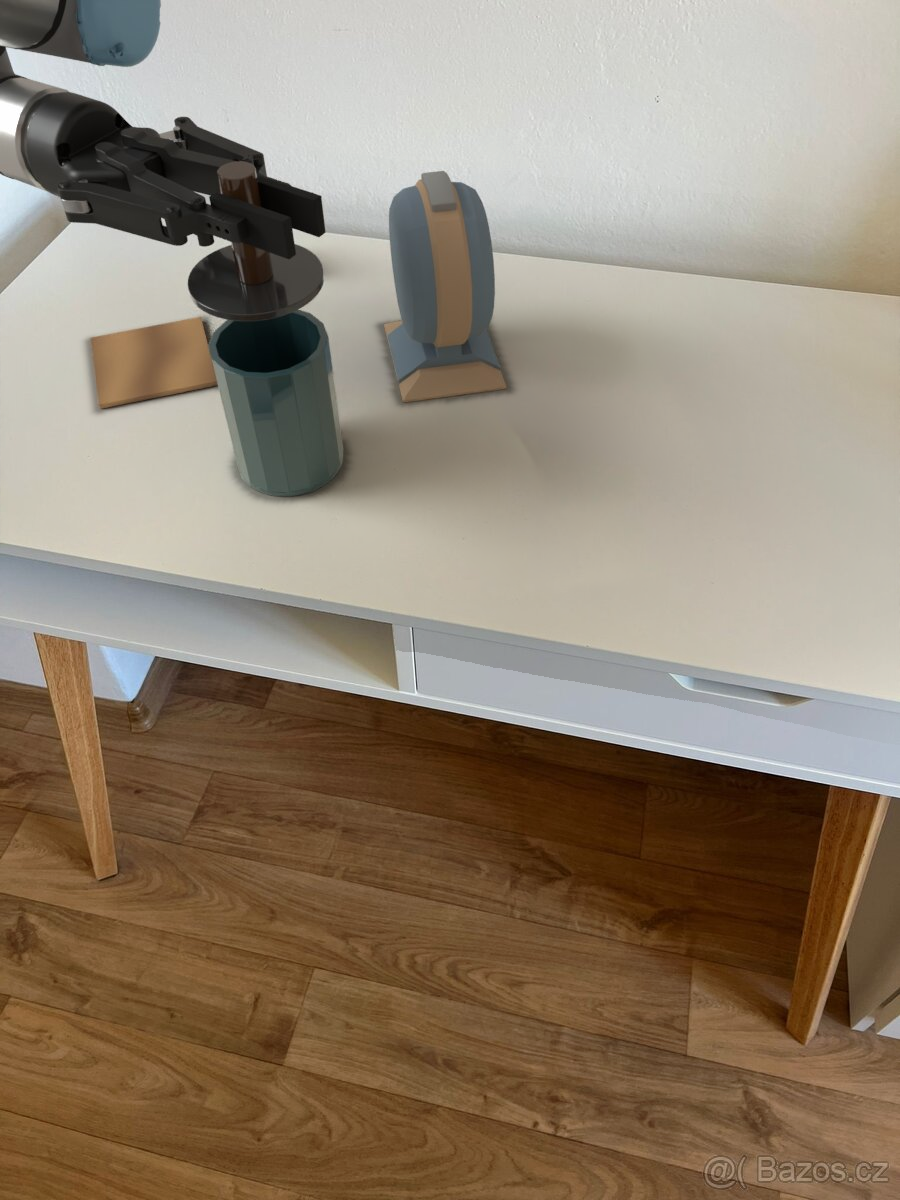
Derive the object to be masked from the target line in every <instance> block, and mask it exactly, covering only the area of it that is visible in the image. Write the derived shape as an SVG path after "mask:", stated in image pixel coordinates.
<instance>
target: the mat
mask: <svg viewBox="0 0 900 1200" xmlns="http://www.w3.org/2000/svg"><path fill="white" fill-rule="evenodd" d="M208 345H209V342H208V339H207V335H206V332H205V327H204V323H203V319H202V317H201V316H197V317H193V318H187V319H181V320H178V321H177V320H176V321H171V322H166V323H161V324H156V325H150V326H144V327H140V328H134V329H130V330H129V329H128V330H124V331H123V330H122V331H119V332H113V333H108V334H102V335H98V336H92V337H90V346H91V354H92V362H93V369H94V379H95V385H96V395H97V402H98V407H99V409H101V410H103V409H107V408H111V407H116V406H121V405H122V406H123V405H127V404H131V403H136V402H142V401H147V400H152V399H156V398H163V397H166V396H171V395H172V396H173V395H176V394H182V393H186V392H192V391H196V390H201V389H206V388H210V387H216V386H217V387H218V384H217V380H216V376H215V372H214V368H213V364H212V359H211V355H210V351H209V347H208Z"/></svg>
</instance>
